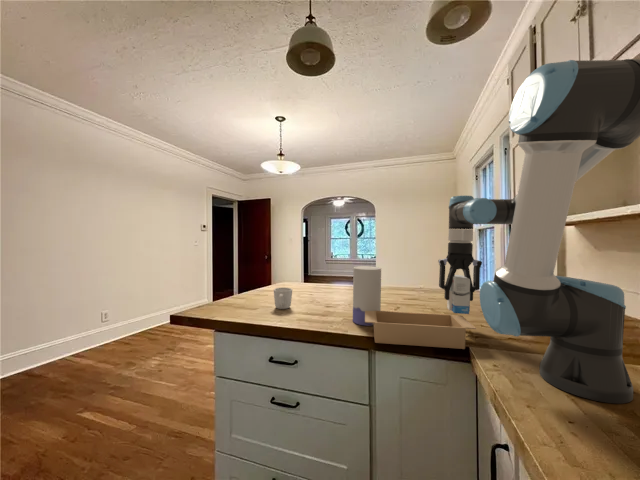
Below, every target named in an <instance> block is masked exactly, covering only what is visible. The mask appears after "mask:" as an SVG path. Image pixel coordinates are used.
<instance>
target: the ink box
mask: <svg viewBox="0 0 640 480" xmlns="http://www.w3.org/2000/svg"><path fill="white" fill-rule="evenodd" d="M450 290H451V291H452V310H451V312H452V313H453V314H459V315H460V314H461V315H462V314H463V315H470V311H469V302H470V303H471V301H470V279H468V278H466V277H464V274H455V275H454V277H453V281H452V285H451V288H450Z"/></svg>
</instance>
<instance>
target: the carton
mask: <svg viewBox="0 0 640 480" xmlns="http://www.w3.org/2000/svg"><path fill="white" fill-rule="evenodd" d="M365 323H374V325H373V337H374V343H376V344H386V345H387V344H388V345H389V344H390V345H402V346H403V345H405V346H417V347H418V346H419V347H428V348H429V347H433V348H443V349H444V348H445V349H448V348H449V349H460V350H461V349H462V350H465V349H466V329H467V330H476V329H477V327H475V325H473V324H472V323H471V322H470V321H469V320H467V319H466V318H465V317H464V316H463V315H457V314H456V315H453V314H445V313H444V314H443V313H426V312H407V311H390V310H389V311H388V310H387V311H386V310H380V311H365Z"/></svg>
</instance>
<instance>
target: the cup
mask: <svg viewBox="0 0 640 480" xmlns="http://www.w3.org/2000/svg"><path fill="white" fill-rule="evenodd" d="M273 299H274V307H275V308H277V309H278V310H287V309H289V308H290V307H291V305H292V299H293V288H290V287H276V288H274V289H273Z"/></svg>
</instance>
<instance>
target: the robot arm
mask: <svg viewBox="0 0 640 480" xmlns="http://www.w3.org/2000/svg"><path fill="white" fill-rule="evenodd" d="M508 124H509V126H508V127H509V129H510V131H511V132H513V133H514V134H516V135H519V136H518V140H517V145H518V146H519V147H520V148H521V150H523V151H524V159H523V165H522V170H521V175H520V180H519V185H518V191H517V194H515V196H514V197H513V198H509V199H507V198H504V199H503V198H502V199H501V198H500V199H498V198H494V199H492V198H486V197H476V198H474V196H472V195H456V196H451V197H450V199H449V202H448V203H449V204H448V237H447V238H448V239H447V240H448V241H449V242H448V243H447V255H446V258H443V259H440V258H439V259H438V261H437V263H438V265H439V276H438V277H439V282H438V287H439V288H440V289H442V290H444V295H443V297H444V299H445V301H446V309H447V310H448V311H452V291H451V290H450V288H451V285H452V281H453V277H454V275H456V272H457V270H462V272H463V276H464V277H466V278H468V279H470V302H469V312H470V310H471V302H473V301H474V293H475V291H479V304H480V308H481V312H482V315H483V318H484V319H485V321H486V323H487V324H488V326H489V327H490V329H492V330H493V331H494V332H496V333H497V334H499V335H505V336H507V335H508V336H512V337H513V336H514V337H519V336H521V337H522V336H523V337H524V336H525V337H526V336H527V337H550V341H549V344H548V346H547V348H546V350H545V352H544V353H543V357H542V359H541V360H540V363H539V375H540V377H541V378H542V379H543V380H544V381H546V382H547V383H548V384H550V385H552V386H554V387H555V388H557V389H559V390H561V391H564V392H566V393H568V394H571V395H574V396H577V397H581V398H584V399H587V400H591V401H595V402H601V403H607V404H627V403H630V402H631V401H633V400H634V385H633V383H632V381H631V378H630V374H629V372H628V370H627V366H626V364H625V362H624V359H623V349H624V348H623V345H624V329H625V327H624V326H625V317H626V316H625V313H626V309H627V306H626V305H625V293H624V290H623V289H622V288H621V287H619V286H617V285H614V284H610V283H604V282H601V281H600V282H599V281H594V280H588V279H582V278H577V277H569V276H563V275H555V274H554V272H555V270H556V269H555V268H556V264H557V260H558V256H559V252H560V247H561V243H562V239H563V236H564V232H565V227H566V223H567V219H568V215H569V211H570V206H571V203H572V198H573V193H574V189H575V185H576V182H578V181H579V180H580V179H581V178H582V177H584V176H585V175H586V174H587V173H589V172H590V171H591V170H593V168H594V167H596V166H597V165H598V164H599V163H601V162H602V161H603V160H604V159H606V157H608V156H609V155H610V154H612V152H614V151H617V150H622V149H625V148H627V147H629V146H630V145H631V144H633V143H634V142H635V141H636V140H638V139H639V138H640V58H638V59H636V58H628V59H607V60H605V59H603V60H602V59H601V60H598V59H597V60H596V59H595V60H592V59H591V60H587V59H586V60H574V59H569V60H566V61H558V62H557V61H556V62H548V63H545V64H543V65H540V66H539V67H536V69H534V70H533V71H532V72H530V74H528V76H527V77H526V78H525V79H524V80H523V82H522V83H521V85H519V88H518V89H517V91H516V92H515V95H514V98H513V100H512V102H511V106H510V108H509V112H508ZM474 225H511V229H510V233H509V239H508V244H507V249H506V250H507V251H506V254H505V260H504V264H503V265H502V266H499V267H498V268H496V269H495V271H494V277H493V280H487V281H485V282H483V283H482V284H481V279H480V278H481V267H482V264H483V262H482V260H478V259H475V258H474V256H473V249H474V247H473V245H474V244H473V243H472V242H473V241H474ZM447 263H448V264H449V265H450V267H449V271H448V274H447V278H446V265H447ZM471 265H472V266H473V268H472V269H473V271H472V272H473V275H472V277H473V279H472V278H471V272H470V271H471V270H470V266H471ZM480 284H481V285H480Z"/></svg>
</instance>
